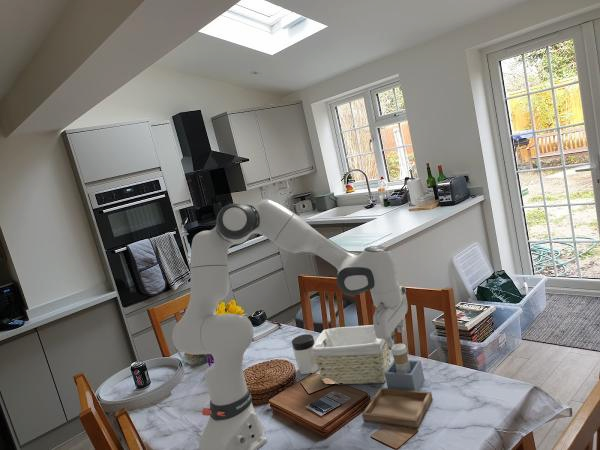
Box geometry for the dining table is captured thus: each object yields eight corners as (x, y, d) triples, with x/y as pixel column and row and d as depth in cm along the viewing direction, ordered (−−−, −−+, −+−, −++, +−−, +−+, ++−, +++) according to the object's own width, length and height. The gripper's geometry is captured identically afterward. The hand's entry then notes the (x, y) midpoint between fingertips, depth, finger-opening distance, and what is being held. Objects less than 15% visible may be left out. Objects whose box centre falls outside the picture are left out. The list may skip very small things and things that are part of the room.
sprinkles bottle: (405, 380, 149) (397, 341, 147) (417, 384, 146) (408, 344, 144) (396, 387, 147) (387, 348, 145) (408, 391, 143) (399, 350, 141)
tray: (417, 428, 124) (416, 420, 124) (363, 421, 133) (362, 414, 133) (432, 399, 136) (431, 392, 135) (382, 394, 145) (380, 387, 144)
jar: (309, 376, 167) (301, 346, 166) (294, 372, 173) (286, 342, 172) (325, 365, 173) (318, 335, 171) (310, 361, 179) (303, 332, 177)
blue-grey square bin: (415, 394, 140) (411, 375, 139) (388, 392, 145) (384, 373, 144) (424, 379, 147) (420, 360, 146) (398, 377, 152) (394, 359, 151)
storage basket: (395, 361, 164) (387, 322, 161) (389, 386, 149) (379, 343, 146) (331, 365, 172) (322, 328, 170) (319, 389, 157) (309, 348, 155)
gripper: (384, 311, 132) (394, 355, 135) (406, 284, 149) (415, 324, 151) (364, 311, 136) (374, 354, 138) (388, 285, 153) (397, 324, 155)
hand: (396, 338), depth 145 cm, fingers open, 8 cm apart
